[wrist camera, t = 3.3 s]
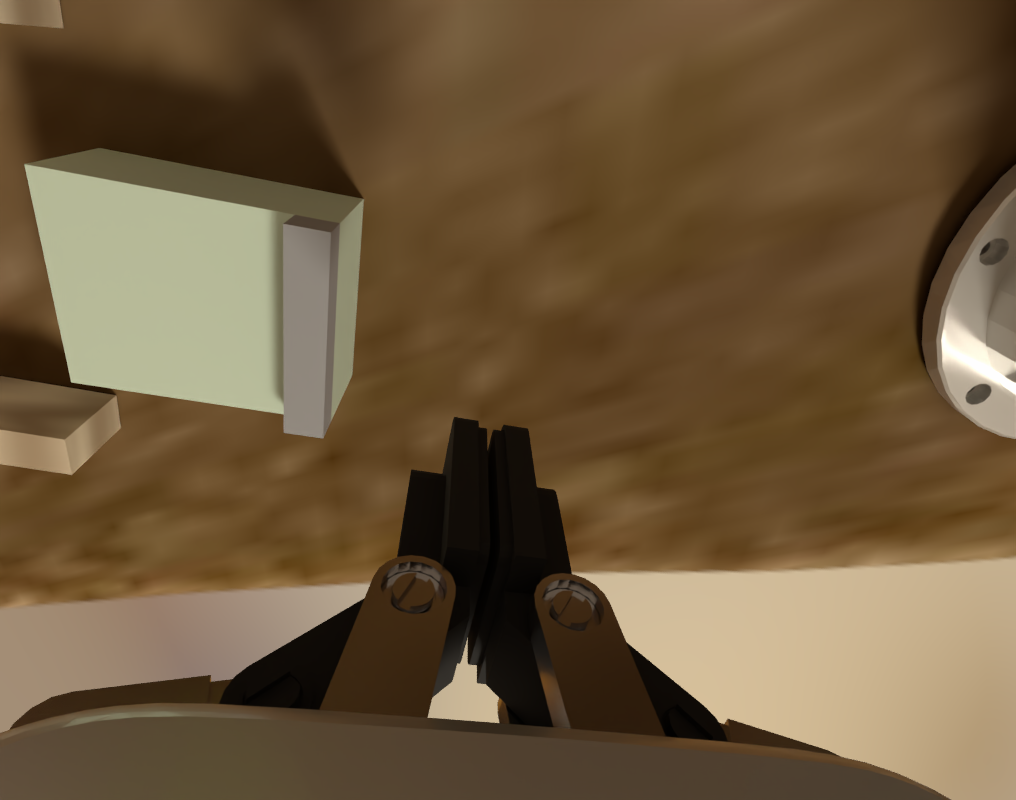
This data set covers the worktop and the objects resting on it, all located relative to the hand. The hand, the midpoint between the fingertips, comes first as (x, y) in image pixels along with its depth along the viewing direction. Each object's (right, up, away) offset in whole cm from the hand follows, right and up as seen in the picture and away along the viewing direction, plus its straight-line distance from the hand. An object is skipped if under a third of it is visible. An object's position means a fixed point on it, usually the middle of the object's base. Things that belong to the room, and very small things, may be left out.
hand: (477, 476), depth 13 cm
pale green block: (-8, +6, +7) cm, 13 cm away
